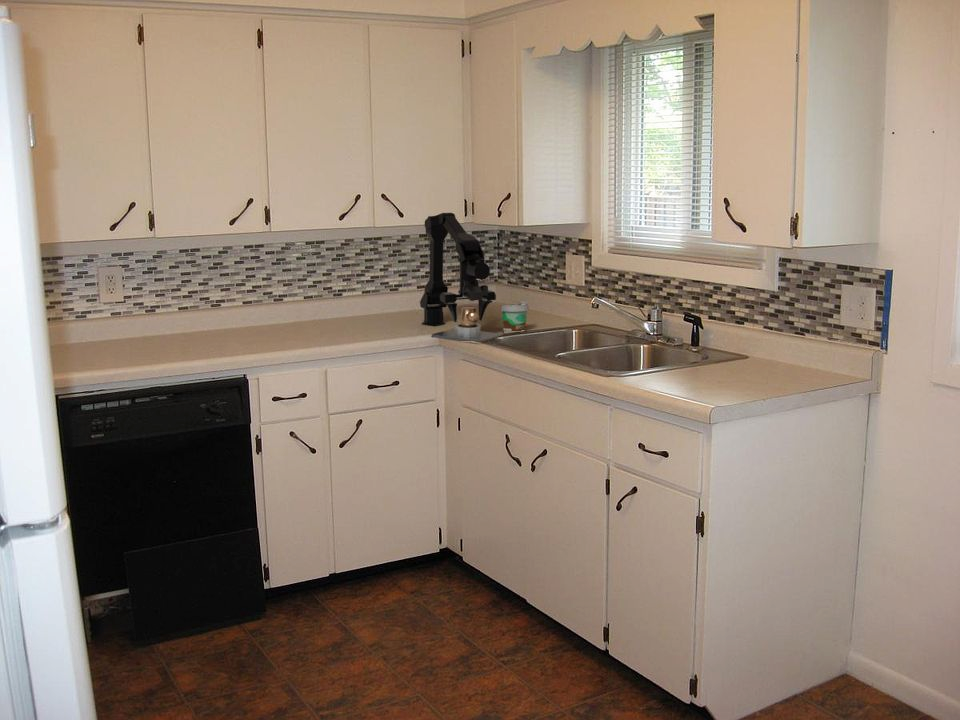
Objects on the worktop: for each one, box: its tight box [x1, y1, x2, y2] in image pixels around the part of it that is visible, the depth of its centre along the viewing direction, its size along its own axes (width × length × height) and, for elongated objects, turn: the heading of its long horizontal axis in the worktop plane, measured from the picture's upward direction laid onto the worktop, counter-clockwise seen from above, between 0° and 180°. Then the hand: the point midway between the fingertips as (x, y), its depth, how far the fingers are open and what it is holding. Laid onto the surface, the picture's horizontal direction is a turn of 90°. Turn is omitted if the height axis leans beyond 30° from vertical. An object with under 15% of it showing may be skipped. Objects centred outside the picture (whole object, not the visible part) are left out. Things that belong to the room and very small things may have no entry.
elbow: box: [460, 306, 480, 328], centre depth 340 cm, size 5×8×9 cm, turn 24°
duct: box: [431, 323, 505, 342], centre depth 342 cm, size 20×15×4 cm
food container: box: [500, 301, 530, 332], centre depth 352 cm, size 12×6×10 cm, turn 143°
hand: (467, 321), depth 341 cm, fingers open, 9 cm apart
